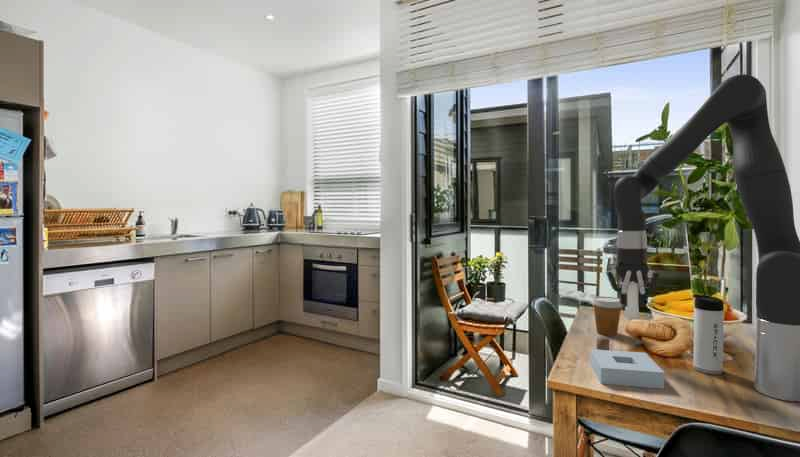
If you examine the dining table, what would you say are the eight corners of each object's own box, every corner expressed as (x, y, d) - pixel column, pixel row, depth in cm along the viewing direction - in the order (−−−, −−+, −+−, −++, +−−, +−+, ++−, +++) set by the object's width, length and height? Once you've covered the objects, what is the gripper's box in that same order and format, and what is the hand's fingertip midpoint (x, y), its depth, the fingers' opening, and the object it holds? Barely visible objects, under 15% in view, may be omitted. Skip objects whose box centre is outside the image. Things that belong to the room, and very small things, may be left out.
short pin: (607, 353, 125) (607, 336, 124) (610, 357, 121) (610, 340, 121) (595, 352, 125) (595, 336, 125) (597, 356, 122) (598, 339, 122)
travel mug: (694, 363, 115) (695, 292, 114) (724, 370, 110) (726, 295, 110) (689, 370, 111) (690, 296, 110) (720, 377, 106) (722, 299, 105)
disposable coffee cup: (623, 331, 146) (623, 297, 145) (621, 339, 138) (622, 303, 137) (593, 327, 151) (593, 295, 150) (590, 335, 142) (590, 300, 142)
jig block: (645, 367, 113) (645, 352, 113) (664, 388, 100) (664, 372, 100) (589, 363, 117) (590, 349, 117) (600, 383, 103) (601, 367, 103)
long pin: (636, 315, 120) (636, 281, 120) (640, 318, 117) (640, 283, 117) (623, 315, 121) (623, 281, 121) (626, 318, 118) (626, 283, 117)
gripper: (607, 247, 116) (608, 308, 117) (664, 247, 113) (664, 310, 114) (601, 245, 124) (602, 302, 124) (654, 245, 120) (655, 304, 121)
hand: (631, 306), depth 119 cm, fingers closed on long pin, 3 cm apart
